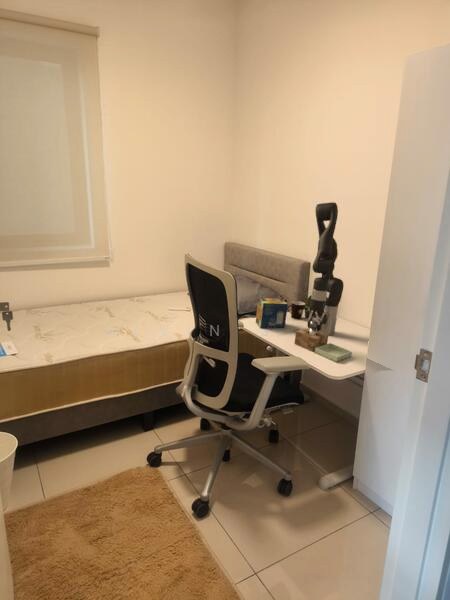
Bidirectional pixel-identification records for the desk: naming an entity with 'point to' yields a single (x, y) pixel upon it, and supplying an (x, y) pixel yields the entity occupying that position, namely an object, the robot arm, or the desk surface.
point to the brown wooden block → (310, 339)
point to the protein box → (271, 313)
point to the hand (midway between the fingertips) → (313, 329)
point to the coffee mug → (296, 309)
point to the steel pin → (313, 327)
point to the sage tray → (333, 352)
